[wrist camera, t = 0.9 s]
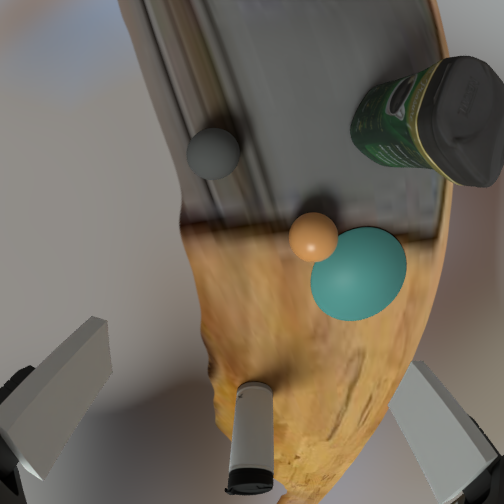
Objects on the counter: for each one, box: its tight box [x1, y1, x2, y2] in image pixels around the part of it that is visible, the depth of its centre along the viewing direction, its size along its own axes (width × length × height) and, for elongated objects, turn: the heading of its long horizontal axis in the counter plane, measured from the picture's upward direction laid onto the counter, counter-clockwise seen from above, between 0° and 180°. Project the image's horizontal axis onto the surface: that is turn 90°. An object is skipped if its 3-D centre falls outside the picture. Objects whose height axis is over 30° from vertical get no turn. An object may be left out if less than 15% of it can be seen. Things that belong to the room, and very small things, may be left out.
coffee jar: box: [350, 56, 504, 187], centre depth 18 cm, size 10×8×19 cm
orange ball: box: [289, 212, 338, 262], centre depth 29 cm, size 6×6×6 cm
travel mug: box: [225, 382, 274, 495], centre depth 34 cm, size 6×7×20 cm
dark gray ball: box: [187, 128, 240, 180], centre depth 26 cm, size 6×6×6 cm
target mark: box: [311, 227, 406, 321], centre depth 34 cm, size 14×14×1 cm
